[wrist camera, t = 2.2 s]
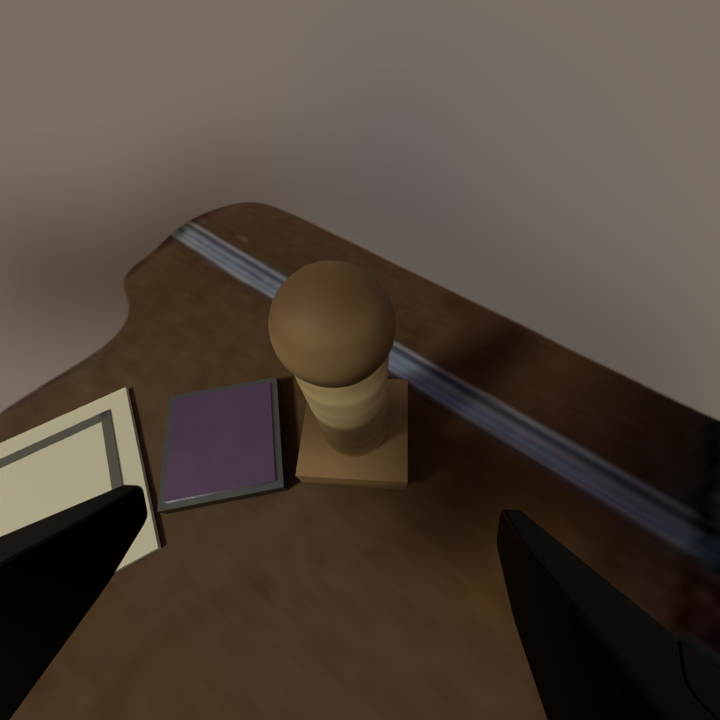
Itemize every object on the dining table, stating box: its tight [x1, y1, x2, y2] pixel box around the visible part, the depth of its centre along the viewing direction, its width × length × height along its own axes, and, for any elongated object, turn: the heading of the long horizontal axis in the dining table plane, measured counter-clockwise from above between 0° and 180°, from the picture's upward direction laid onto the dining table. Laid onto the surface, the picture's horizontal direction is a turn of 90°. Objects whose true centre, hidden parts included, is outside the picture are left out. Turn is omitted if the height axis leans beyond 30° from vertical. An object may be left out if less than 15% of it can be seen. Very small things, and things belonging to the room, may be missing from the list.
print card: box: [0, 387, 161, 573], centre depth 20 cm, size 11×11×1 cm
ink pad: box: [157, 377, 288, 514], centre depth 21 cm, size 7×7×1 cm
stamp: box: [269, 260, 408, 490], centre depth 15 cm, size 6×6×14 cm
